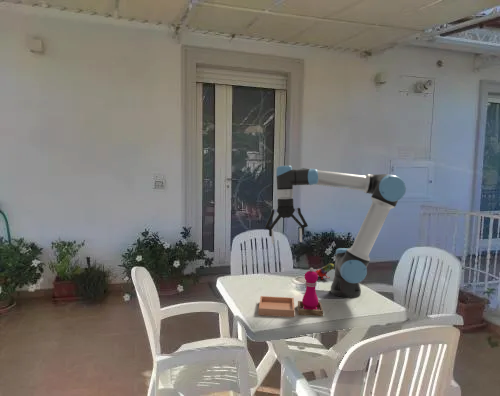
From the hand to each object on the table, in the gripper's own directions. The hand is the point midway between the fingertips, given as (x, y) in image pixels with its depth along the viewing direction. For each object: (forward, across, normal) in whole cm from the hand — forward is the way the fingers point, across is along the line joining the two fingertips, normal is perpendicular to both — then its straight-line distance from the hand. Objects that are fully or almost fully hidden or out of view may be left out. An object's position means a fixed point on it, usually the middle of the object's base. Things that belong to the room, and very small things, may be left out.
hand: (286, 242), depth 189 cm
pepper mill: (+30, +8, -13) cm, 33 cm away
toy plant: (+28, +25, +37) cm, 53 cm away
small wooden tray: (+29, +8, -13) cm, 33 cm away
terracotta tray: (+28, -7, -11) cm, 31 cm away
